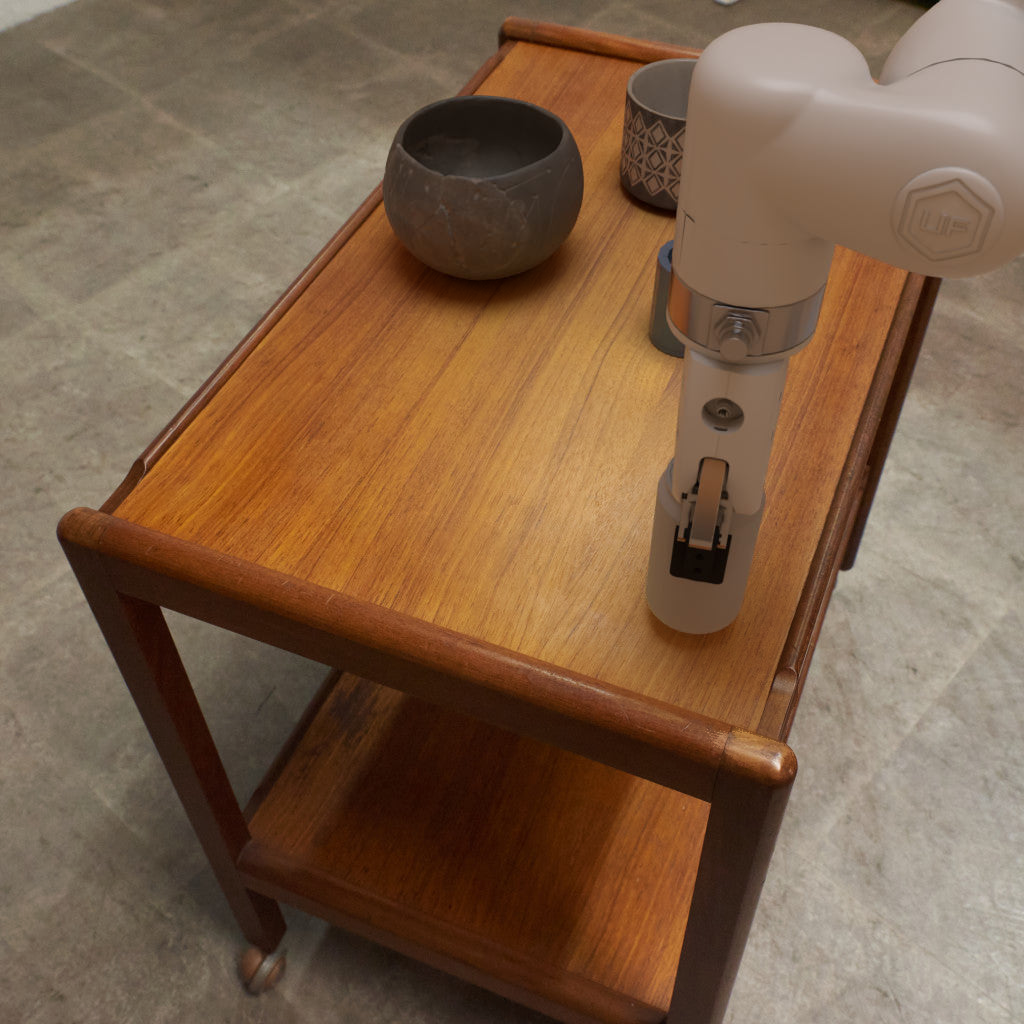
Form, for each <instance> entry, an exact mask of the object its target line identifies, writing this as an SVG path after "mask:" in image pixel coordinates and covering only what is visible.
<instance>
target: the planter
mask: <svg viewBox="0 0 1024 1024" xmlns="http://www.w3.org/2000/svg"><path fill="white" fill-rule="evenodd" d="M698 59H699V58H695V57H694V58H693V57H679V58H668V59H662V60H658V61H653V62H650V63H648V64H646V65H643V66H641V67H639V68H638V69H636V70H635V71H634V72H633V73H632V74H631V75H630V76H629V78H628V79H627V82H626V91H625V101H624V102H625V103H624V112H623V113H624V115H623V127H622V138H621V149H620V161H619V162H620V163H619V172H618V173H619V179H620V181H621V183H622V186H623V187H624V188H625V190H626V191H627V192H628V193H629V194H631V195H632V196H633V197H635V198H636V199H638V200H639V201H641V202H643V203H645V204H648V205H650V206H654V207H656V208H661V209H665V210H669V211H676V212H677V207H678V198H679V188H680V178H681V168H682V158H683V148H684V139H685V129H686V119H687V109H688V99H689V91H690V85H691V79H692V73H693V70H694V67H695V65H696V63H697V61H698Z"/></svg>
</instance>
